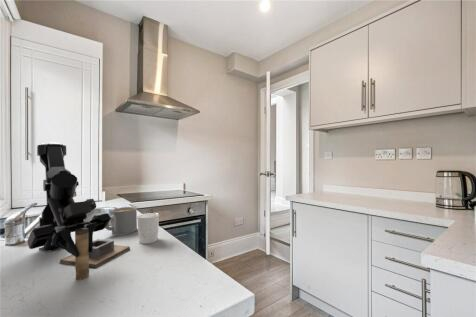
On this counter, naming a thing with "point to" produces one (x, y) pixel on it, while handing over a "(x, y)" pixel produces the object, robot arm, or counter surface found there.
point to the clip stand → (99, 253)
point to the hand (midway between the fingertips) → (84, 253)
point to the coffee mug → (123, 221)
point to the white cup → (148, 227)
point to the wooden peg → (82, 253)
